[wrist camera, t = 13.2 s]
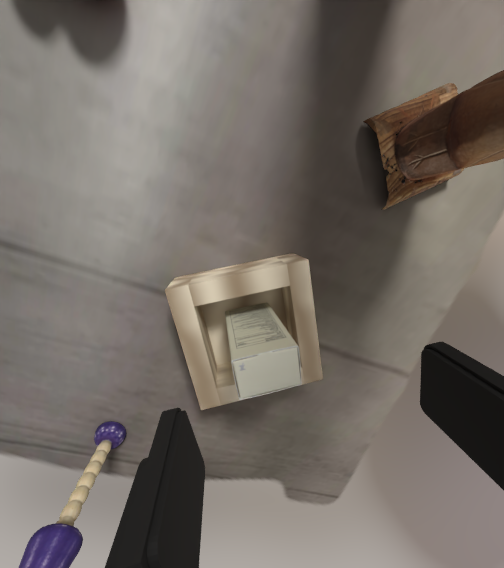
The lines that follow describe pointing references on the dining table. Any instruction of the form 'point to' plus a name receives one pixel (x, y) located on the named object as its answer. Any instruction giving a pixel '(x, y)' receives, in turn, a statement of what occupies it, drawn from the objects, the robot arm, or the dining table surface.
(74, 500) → the toy lamp
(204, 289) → the holder
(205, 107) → the dining table surface
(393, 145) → the bird sculpture
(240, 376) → the skincare box
